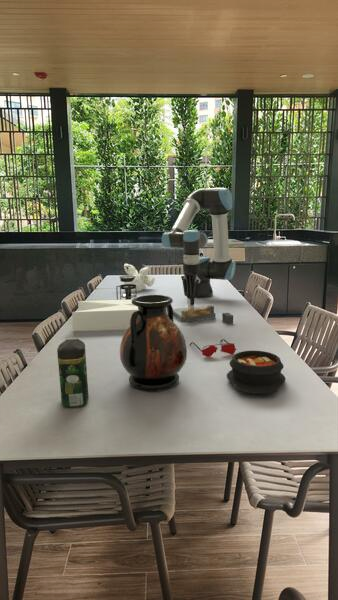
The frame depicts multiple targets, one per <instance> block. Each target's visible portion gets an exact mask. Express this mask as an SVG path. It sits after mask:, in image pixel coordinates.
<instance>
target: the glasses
mask: <svg viewBox="0 0 338 600" xmlns="http://www.w3.org/2000/svg"><path fill="white" fill-rule="evenodd" d="M222 342H225V343H222ZM188 345H189V346H191V345H194V346H195V347H196V348H197V349H198V350H199V351H200V352H201V354H202V355H203V356H205V357H206V358H210V357H212V355H213V354H214V353H216V354H217V352H218V351H217V350H218V348H219V347H217V346H220V347H221V349H220V353H221V352H222V353H225V354H230V355H235V354H234V353H235V352H236V351H237V348H236V346H235V343H232V342H231V343H229V342H228V341H227V340H226V339H224V338H223V339H220V343H219V344H217V343H216V345H215V344H211V345H205V346H204V348H202V349H201V348H200V347H199V345H197V344H196V343H195V342H193V341H192V342H190V344H188Z"/></svg>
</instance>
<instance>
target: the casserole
mask: <svg viewBox="0 0 338 600" xmlns="http://www.w3.org/2000/svg"><path fill="white" fill-rule="evenodd" d="M229 366H230V368H231V370H229V371H228V372H227V374H226V379H227V380H228V381H229V382H230V383H232V384H233V385H234V386H235V388H236V389H237V390H239V391H240V392H243V393H248V394H253V395H254V394H259V395H265V394H267V395H268V394H274V393H276V392H278V390H279V389H280V387H281V386H282V385H284V383H285V382H286V381H287V380H286V379H287V378H286V377H285V375H284V374H283V373H282V372H281V371H282V370H283V369H284V364H283V362H282V360H281V358H280V357H279V356H278V355H276V354H274V353H272V352H268V351H264V350H244V351H243V350H242V351H238V352H237V353H235V354H233V356H232V359H231V360H230V361H229Z"/></svg>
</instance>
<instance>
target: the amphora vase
mask: <svg viewBox="0 0 338 600" xmlns="http://www.w3.org/2000/svg"><path fill="white" fill-rule="evenodd" d="M131 299H132V301H131V302H132V304H133V305H135V306H137V307H138V311H135V312H133V314H132V316H131V319H130V326H129V327H128V328H127V329H125V331H124V334H123V336H122V337H121V338H122V339H121V342H120V346H119V358H120V362H121V364H122V367H123V369H124V370H125V371H126V372H127V373H128V374H129V376H128V382H129V384H130V385H131V386H132V387H133V388H135V389H138V390H142V391H146V390H147V391H148V392H159V391H164V389H165V390H167V389H168V390H169V389H170V388H173V387H174V386H176V385H177V384H178V383H179V381H180V375H179V372H180V371H181V370H182V368H183V367H184V366H185V364H186V361H187V357H188V356H187V353H188V351H187V345H186V344H187V343H186V339H185V336H184V334H183V332H182V330H181V328H179V326H178V325H177V324H176V323H175V322H174V316H173V309H174V308H173V306H172V304H173V298H172V297H170V296H168V295H164V294H145V295H144V294H143V295H138V296H137V297H133V298H131ZM166 307H167V312H168V315H167V313H166ZM158 390H159V391H158Z"/></svg>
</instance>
